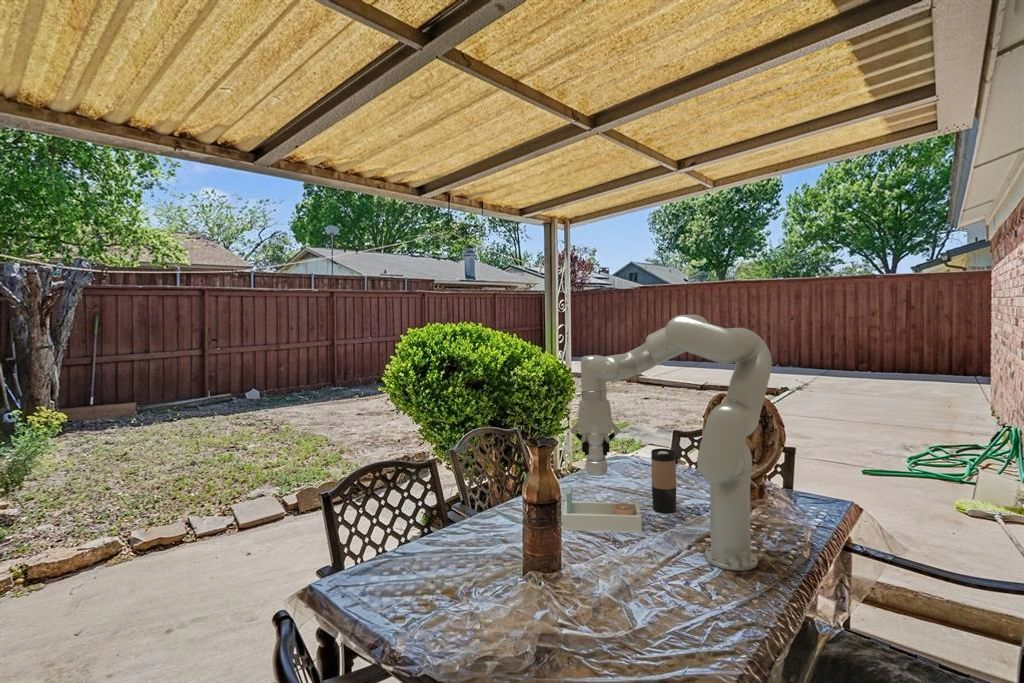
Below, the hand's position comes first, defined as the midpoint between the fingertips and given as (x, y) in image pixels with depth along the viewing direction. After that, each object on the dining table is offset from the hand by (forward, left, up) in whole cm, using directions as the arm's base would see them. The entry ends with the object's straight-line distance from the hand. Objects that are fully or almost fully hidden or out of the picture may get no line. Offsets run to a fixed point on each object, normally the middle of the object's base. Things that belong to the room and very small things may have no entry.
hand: (595, 454), depth 160 cm
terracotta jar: (0, -8, -21) cm, 23 cm away
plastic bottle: (0, 0, -7) cm, 7 cm away
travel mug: (+13, -22, -22) cm, 34 cm away
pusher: (0, +8, -21) cm, 23 cm away
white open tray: (0, -1, -22) cm, 22 cm away
